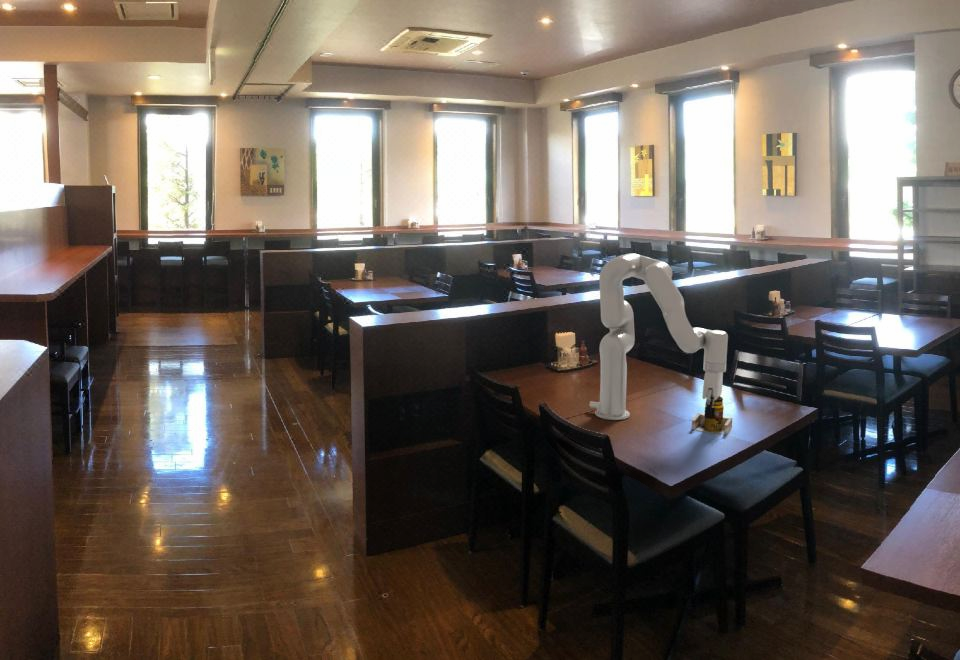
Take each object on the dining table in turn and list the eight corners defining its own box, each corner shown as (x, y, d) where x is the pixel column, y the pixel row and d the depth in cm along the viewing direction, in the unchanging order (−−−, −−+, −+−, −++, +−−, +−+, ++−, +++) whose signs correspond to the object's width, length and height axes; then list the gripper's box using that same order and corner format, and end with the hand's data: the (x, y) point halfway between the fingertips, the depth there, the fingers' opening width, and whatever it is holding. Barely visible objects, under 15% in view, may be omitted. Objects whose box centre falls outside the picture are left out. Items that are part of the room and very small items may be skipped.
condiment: (720, 434, 262) (722, 400, 260) (696, 430, 266) (697, 397, 264) (725, 428, 269) (727, 395, 266) (700, 424, 273) (702, 392, 270)
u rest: (691, 429, 267) (692, 420, 267) (697, 422, 275) (697, 413, 274) (726, 434, 262) (727, 425, 261) (731, 427, 269) (732, 418, 269)
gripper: (709, 359, 272) (706, 407, 276) (697, 370, 257) (695, 420, 261) (730, 362, 269) (727, 410, 272) (720, 373, 254) (717, 423, 257)
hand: (711, 414), depth 266 cm, fingers open, 7 cm apart
